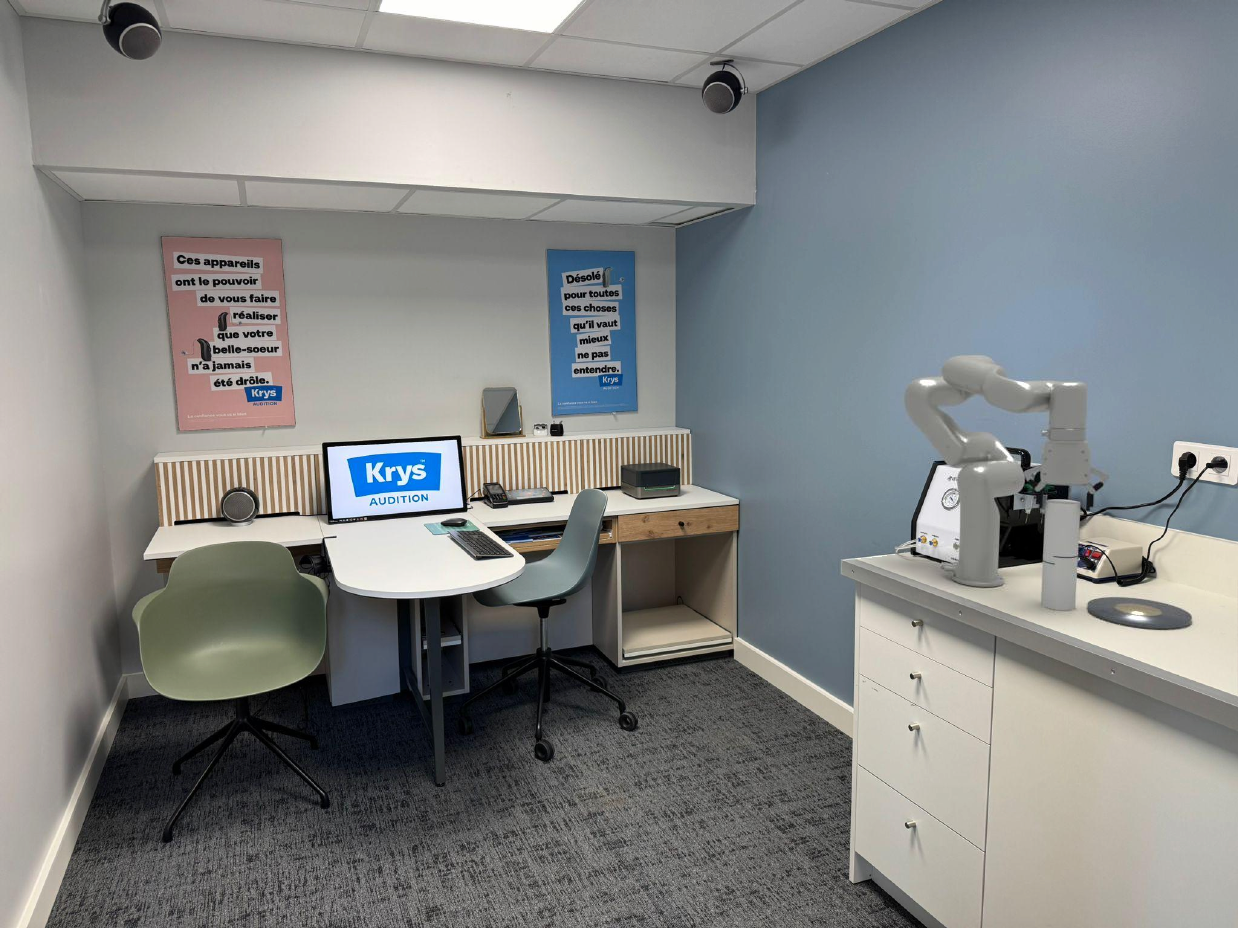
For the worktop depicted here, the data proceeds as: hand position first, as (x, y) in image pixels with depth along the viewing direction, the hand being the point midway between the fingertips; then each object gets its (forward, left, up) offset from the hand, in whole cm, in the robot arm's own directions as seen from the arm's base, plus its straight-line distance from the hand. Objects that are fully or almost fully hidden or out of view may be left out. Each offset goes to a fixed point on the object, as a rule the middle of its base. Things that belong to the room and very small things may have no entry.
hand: (1064, 508), depth 189 cm
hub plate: (+16, 0, -23) cm, 28 cm away
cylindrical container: (0, 0, -24) cm, 24 cm away
